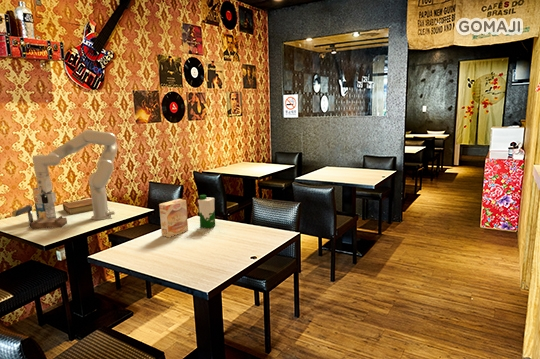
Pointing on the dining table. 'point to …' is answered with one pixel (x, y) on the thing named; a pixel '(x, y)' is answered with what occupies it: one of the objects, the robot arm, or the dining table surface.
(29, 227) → the post
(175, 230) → the coffeecake box
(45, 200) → the robot arm
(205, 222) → the milk carton
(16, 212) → the lever
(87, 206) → the diary
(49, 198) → the light grey block
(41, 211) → the beverage box
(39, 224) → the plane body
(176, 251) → the dining table surface
